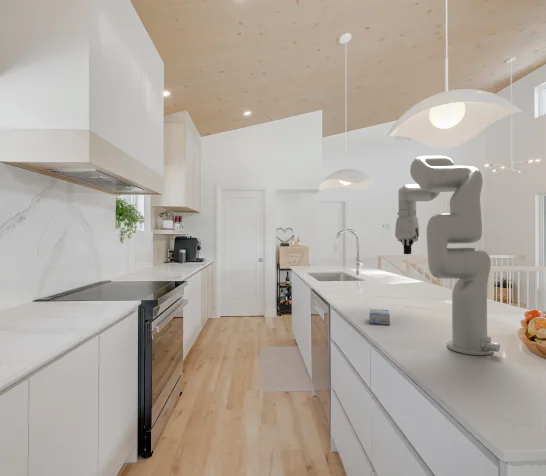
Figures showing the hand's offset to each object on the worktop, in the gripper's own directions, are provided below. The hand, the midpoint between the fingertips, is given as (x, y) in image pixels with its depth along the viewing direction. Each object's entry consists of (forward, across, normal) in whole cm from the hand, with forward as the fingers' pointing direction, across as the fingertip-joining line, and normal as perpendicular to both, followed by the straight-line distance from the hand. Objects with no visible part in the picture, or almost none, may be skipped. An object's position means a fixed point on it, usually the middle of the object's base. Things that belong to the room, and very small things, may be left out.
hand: (407, 254), depth 161 cm
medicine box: (+25, +2, -20) cm, 32 cm away
